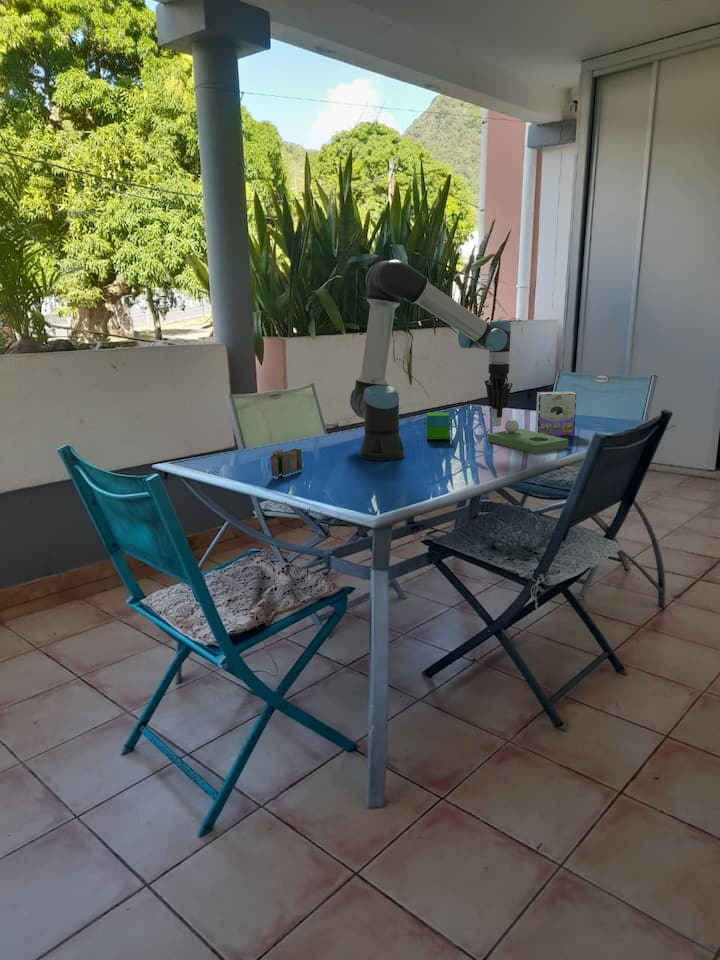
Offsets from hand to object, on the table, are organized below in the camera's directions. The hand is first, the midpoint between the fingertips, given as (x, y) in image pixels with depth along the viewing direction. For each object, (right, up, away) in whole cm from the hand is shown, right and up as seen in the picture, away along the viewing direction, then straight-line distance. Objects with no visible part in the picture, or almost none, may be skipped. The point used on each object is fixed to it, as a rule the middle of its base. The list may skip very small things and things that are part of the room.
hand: (496, 425), depth 252 cm
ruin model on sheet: (-74, -20, -46) cm, 89 cm away
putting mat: (+8, -8, -12) cm, 17 cm away
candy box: (+22, -4, +2) cm, 23 cm away
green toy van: (-22, -5, +2) cm, 23 cm away
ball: (+4, -1, -7) cm, 8 cm away
